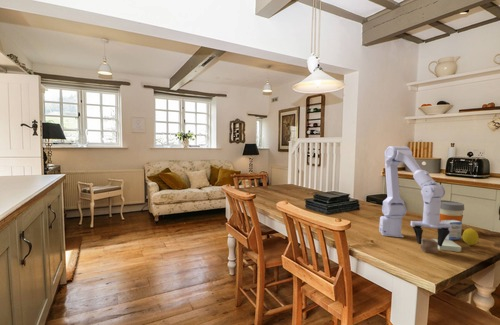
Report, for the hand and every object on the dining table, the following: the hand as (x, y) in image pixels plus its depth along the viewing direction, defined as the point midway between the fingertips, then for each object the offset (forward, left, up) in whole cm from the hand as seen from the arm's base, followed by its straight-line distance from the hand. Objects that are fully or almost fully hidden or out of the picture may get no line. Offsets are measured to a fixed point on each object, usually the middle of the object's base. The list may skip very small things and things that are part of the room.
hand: (429, 244), depth 108 cm
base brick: (+9, +7, -3) cm, 12 cm away
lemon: (+21, +12, -3) cm, 24 cm away
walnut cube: (0, 0, -3) cm, 3 cm away
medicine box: (+17, +20, -3) cm, 26 cm away
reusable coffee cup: (+22, +34, -3) cm, 41 cm away
